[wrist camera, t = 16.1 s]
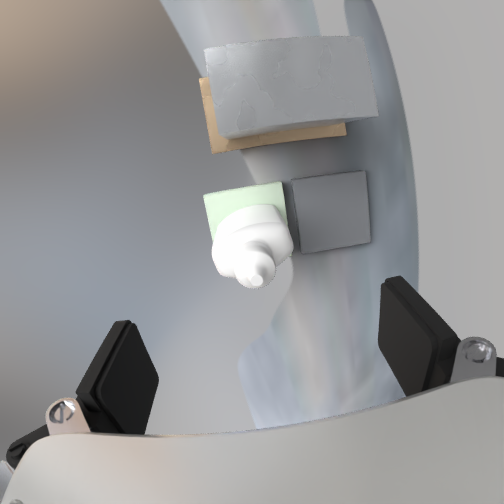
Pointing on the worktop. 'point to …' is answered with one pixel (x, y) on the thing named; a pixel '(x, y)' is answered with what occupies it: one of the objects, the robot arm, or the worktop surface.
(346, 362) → the worktop surface
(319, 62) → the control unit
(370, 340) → the worktop surface
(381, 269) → the worktop surface
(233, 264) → the eye dropper bottle
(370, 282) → the worktop surface
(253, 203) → the sage pad
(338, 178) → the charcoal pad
